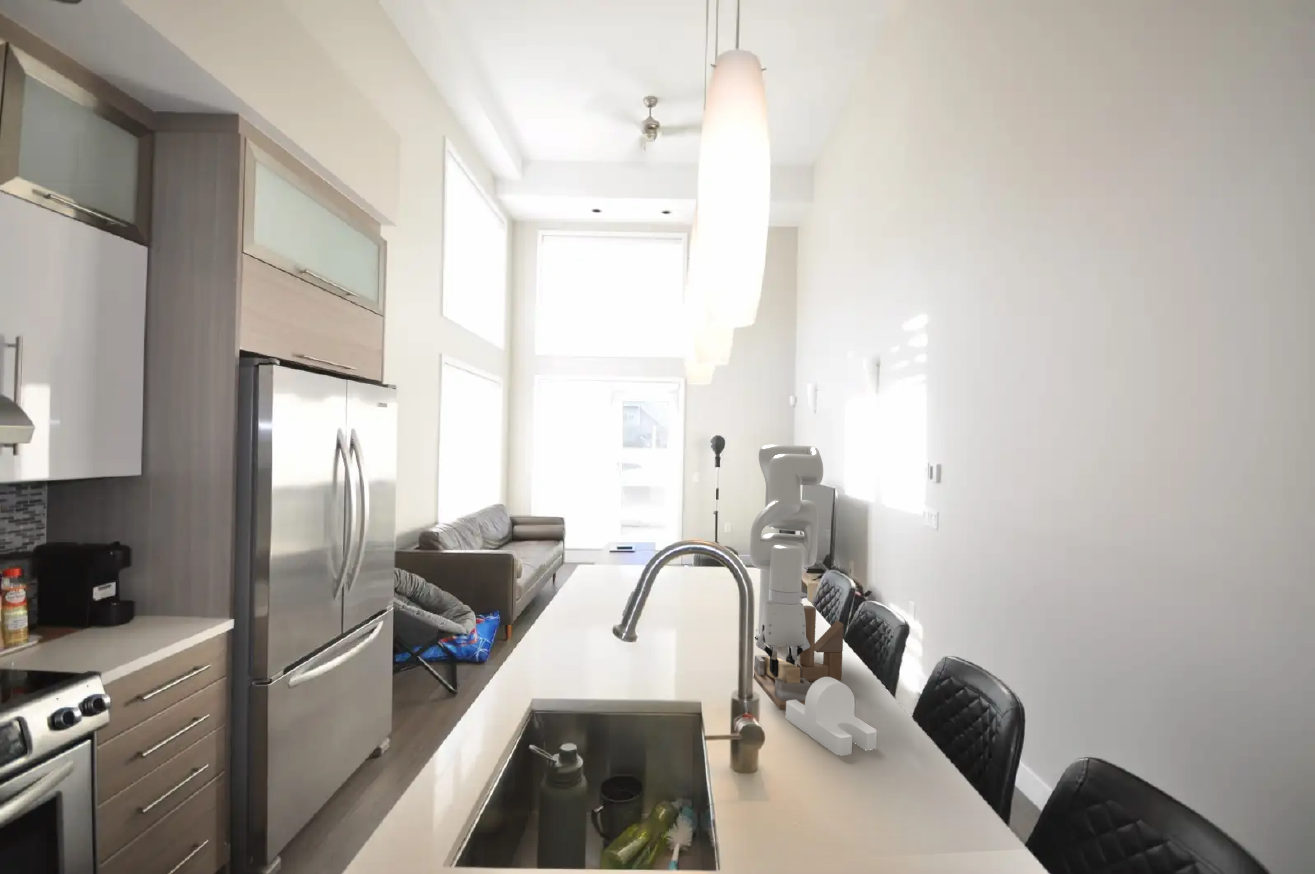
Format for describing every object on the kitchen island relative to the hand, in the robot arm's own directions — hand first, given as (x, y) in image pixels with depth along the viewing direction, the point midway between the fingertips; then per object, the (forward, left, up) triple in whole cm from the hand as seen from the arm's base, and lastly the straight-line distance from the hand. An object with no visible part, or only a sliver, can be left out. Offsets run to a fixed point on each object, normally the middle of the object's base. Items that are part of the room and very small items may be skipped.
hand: (781, 674), depth 148 cm
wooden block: (-7, +12, -4) cm, 14 cm away
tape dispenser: (+22, +2, -4) cm, 23 cm away
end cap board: (-1, 0, -4) cm, 4 cm away
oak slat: (0, 0, -1) cm, 1 cm away
